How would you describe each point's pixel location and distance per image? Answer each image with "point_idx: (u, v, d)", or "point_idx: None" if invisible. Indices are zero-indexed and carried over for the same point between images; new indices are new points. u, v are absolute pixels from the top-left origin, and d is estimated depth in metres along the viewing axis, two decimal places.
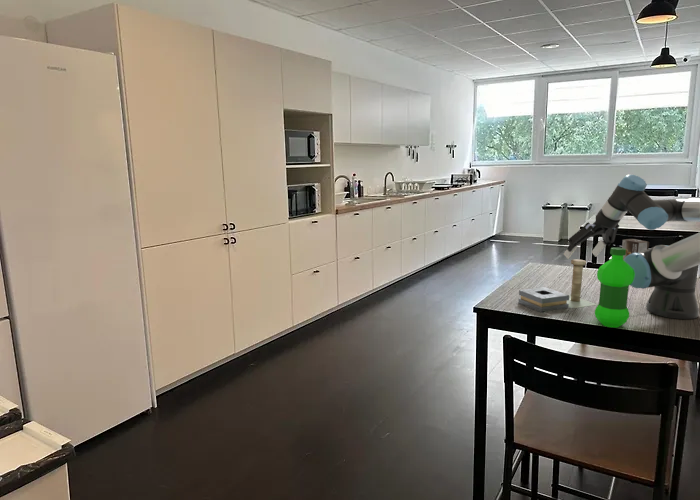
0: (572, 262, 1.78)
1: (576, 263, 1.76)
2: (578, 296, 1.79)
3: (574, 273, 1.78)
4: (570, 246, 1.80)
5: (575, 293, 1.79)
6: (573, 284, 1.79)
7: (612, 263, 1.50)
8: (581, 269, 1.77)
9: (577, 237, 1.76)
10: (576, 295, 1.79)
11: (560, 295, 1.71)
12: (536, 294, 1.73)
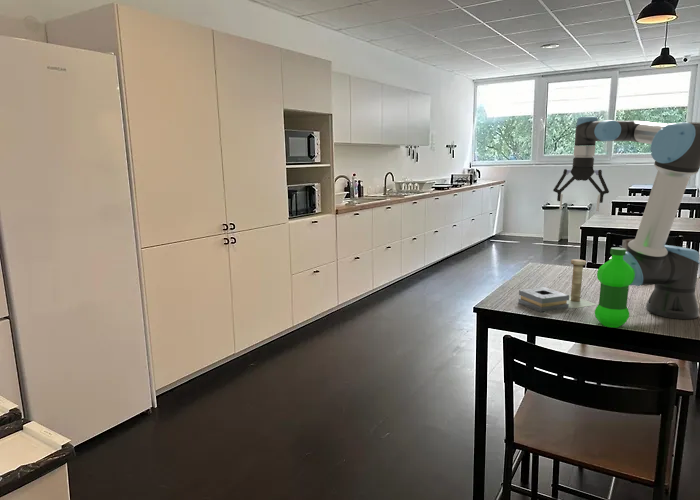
0: (572, 262, 1.78)
1: (576, 263, 1.76)
2: (578, 296, 1.79)
3: (574, 273, 1.78)
4: None
5: (575, 293, 1.79)
6: (573, 284, 1.79)
7: (612, 263, 1.50)
8: (581, 269, 1.77)
9: (557, 183, 1.97)
10: (576, 295, 1.79)
11: (560, 295, 1.71)
12: (536, 294, 1.73)
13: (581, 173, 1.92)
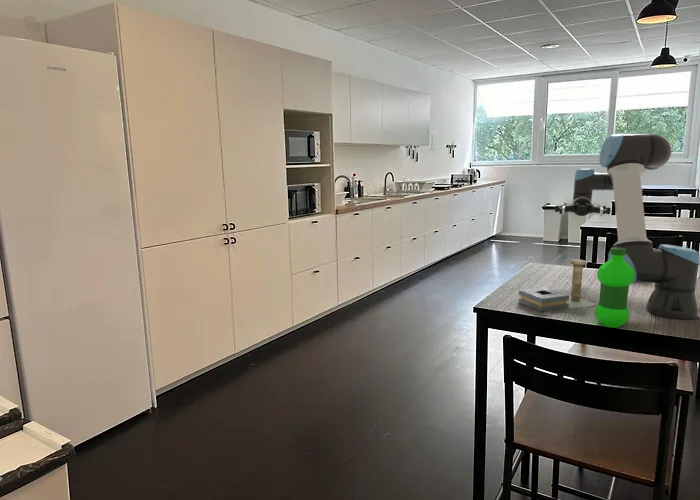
0: (572, 262, 1.78)
1: (576, 263, 1.76)
2: (578, 296, 1.79)
3: (574, 273, 1.78)
4: (559, 209, 1.96)
5: (575, 293, 1.79)
6: (573, 284, 1.79)
7: (612, 263, 1.50)
8: (581, 269, 1.77)
9: None
10: (576, 295, 1.79)
11: (560, 295, 1.71)
12: (536, 294, 1.73)
13: (581, 205, 2.01)
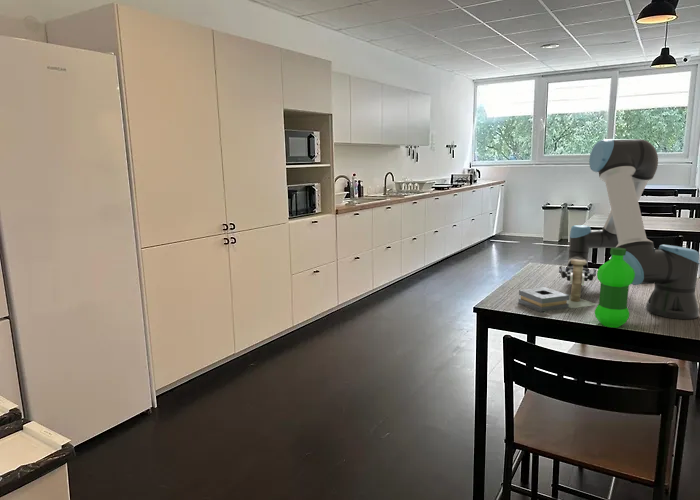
0: (572, 262, 1.78)
1: (576, 263, 1.76)
2: (578, 296, 1.79)
3: (574, 273, 1.78)
4: (567, 275, 1.81)
5: (575, 293, 1.79)
6: (573, 284, 1.79)
7: (612, 263, 1.50)
8: (581, 269, 1.77)
9: (561, 271, 1.86)
10: (576, 295, 1.79)
11: (560, 295, 1.71)
12: (536, 294, 1.73)
13: None
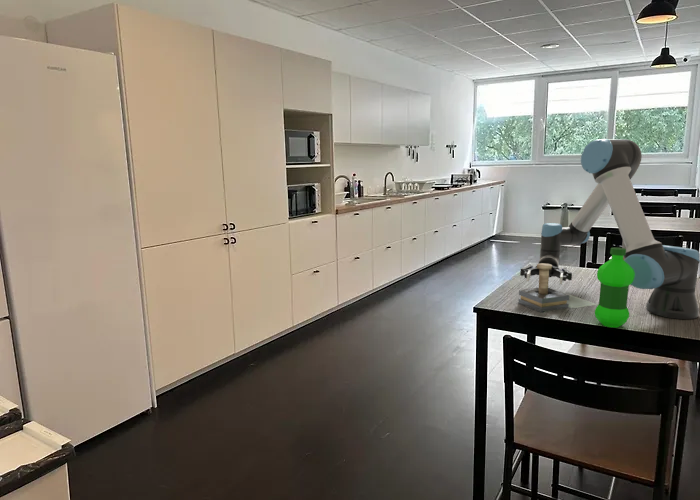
0: (538, 266, 1.73)
1: (541, 267, 1.72)
2: None
3: (540, 277, 1.74)
4: (524, 273, 1.78)
5: None
6: (540, 289, 1.74)
7: (612, 263, 1.50)
8: (547, 273, 1.73)
9: None
10: None
11: (560, 295, 1.71)
12: (536, 294, 1.73)
13: None
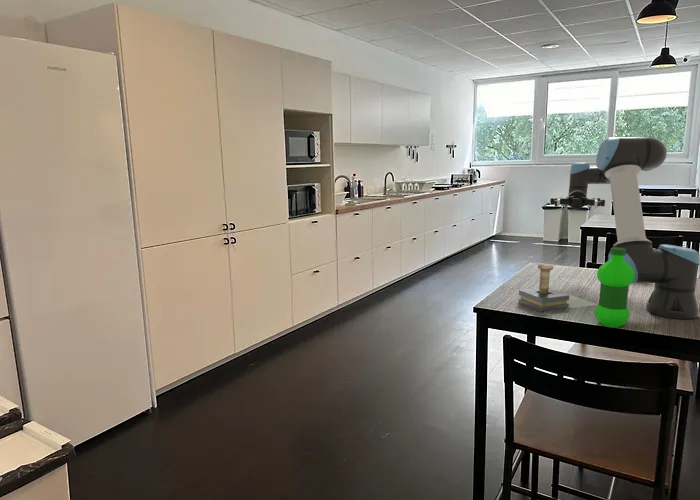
0: (539, 266, 1.73)
1: (543, 267, 1.71)
2: None
3: (541, 278, 1.73)
4: (554, 201, 1.99)
5: None
6: (540, 289, 1.74)
7: (612, 263, 1.50)
8: (548, 274, 1.72)
9: None
10: None
11: (560, 295, 1.71)
12: (536, 294, 1.73)
13: (576, 198, 2.04)
